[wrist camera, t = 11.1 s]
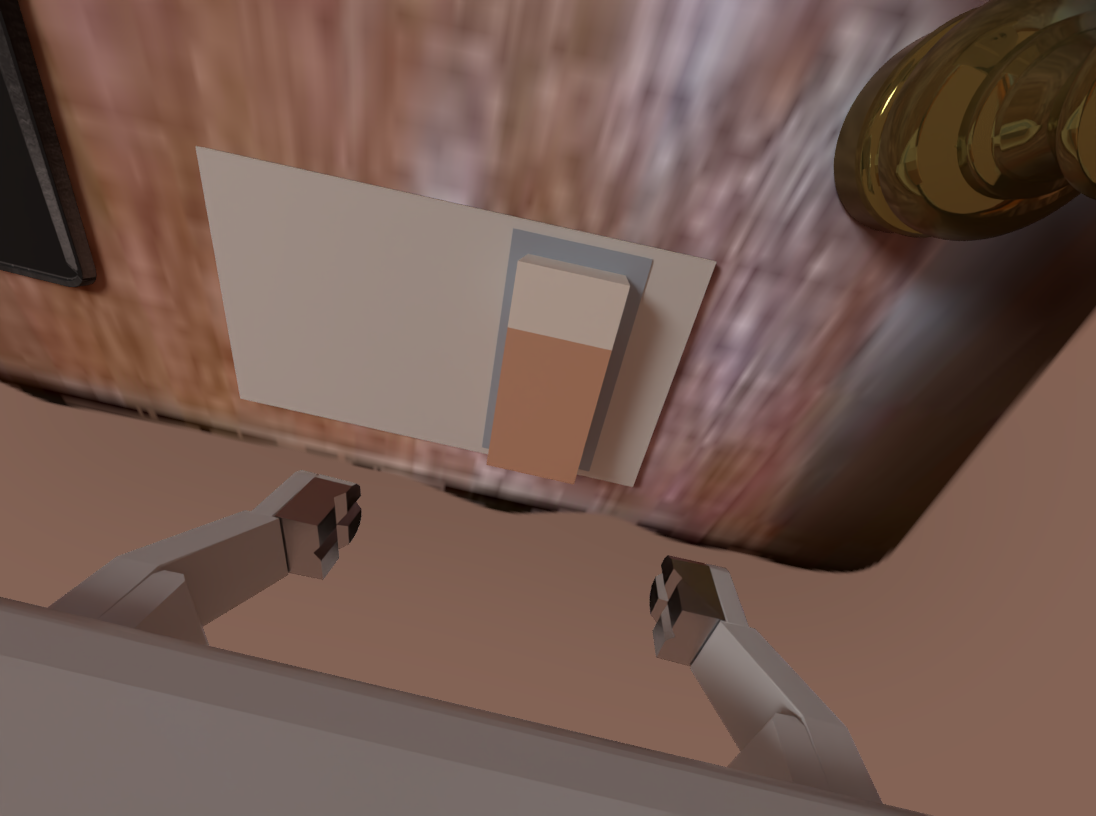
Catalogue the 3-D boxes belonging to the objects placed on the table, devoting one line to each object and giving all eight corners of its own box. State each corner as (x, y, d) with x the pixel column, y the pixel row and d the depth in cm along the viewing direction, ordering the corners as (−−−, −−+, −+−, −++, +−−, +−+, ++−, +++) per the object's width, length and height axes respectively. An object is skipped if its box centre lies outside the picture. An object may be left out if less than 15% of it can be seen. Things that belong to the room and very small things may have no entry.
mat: (206, 147, 20) (193, 146, 20) (713, 260, 20) (717, 262, 19) (247, 394, 27) (239, 399, 26) (632, 481, 26) (633, 488, 26)
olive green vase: (834, 258, 19) (1036, 301, 11) (821, 77, 17) (1083, -72, 8) (1020, 197, 18) (1452, 187, 9) (1042, -17, 15) (1717, -355, 6)
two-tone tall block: (576, 455, 25) (573, 484, 22) (498, 437, 25) (486, 464, 22) (625, 275, 20) (630, 285, 17) (528, 253, 20) (517, 260, 17)
